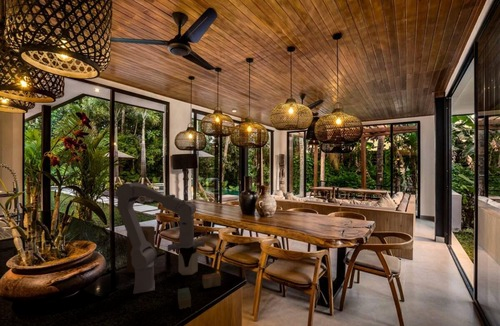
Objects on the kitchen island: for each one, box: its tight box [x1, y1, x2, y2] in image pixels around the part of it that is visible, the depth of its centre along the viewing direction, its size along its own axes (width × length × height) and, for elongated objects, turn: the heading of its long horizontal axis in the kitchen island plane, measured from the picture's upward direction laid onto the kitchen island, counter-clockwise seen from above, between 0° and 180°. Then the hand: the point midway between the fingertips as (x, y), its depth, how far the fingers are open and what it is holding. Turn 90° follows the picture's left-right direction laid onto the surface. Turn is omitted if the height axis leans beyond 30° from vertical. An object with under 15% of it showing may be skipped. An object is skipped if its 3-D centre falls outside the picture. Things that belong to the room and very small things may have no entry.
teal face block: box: [177, 287, 192, 310], centre depth 93 cm, size 4×4×7 cm
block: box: [126, 225, 156, 274], centre depth 123 cm, size 10×10×20 cm
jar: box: [178, 247, 199, 276], centre depth 121 cm, size 9×8×12 cm
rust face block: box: [201, 272, 222, 289], centre depth 107 cm, size 4×4×7 cm
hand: (186, 266), depth 103 cm, fingers closed
